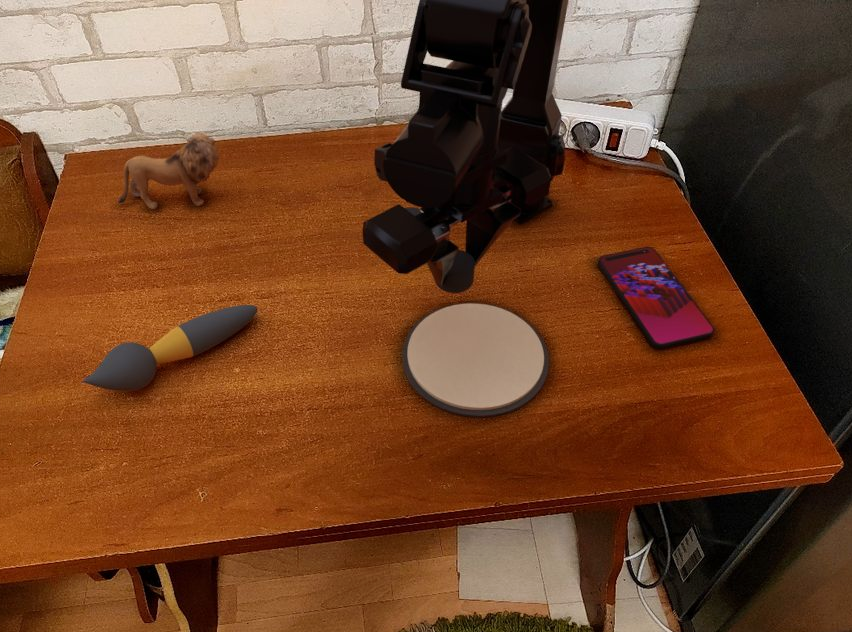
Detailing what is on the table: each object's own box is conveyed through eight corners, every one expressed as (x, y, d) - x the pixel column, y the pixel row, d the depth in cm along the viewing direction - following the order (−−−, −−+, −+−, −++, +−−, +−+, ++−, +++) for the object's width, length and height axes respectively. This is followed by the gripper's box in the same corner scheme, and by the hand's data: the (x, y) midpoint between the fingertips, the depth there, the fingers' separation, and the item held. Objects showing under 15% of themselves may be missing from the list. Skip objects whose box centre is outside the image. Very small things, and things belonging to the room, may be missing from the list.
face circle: (478, 285, 82) (479, 279, 82) (579, 365, 74) (581, 359, 73) (372, 349, 76) (372, 344, 75) (470, 444, 68) (471, 439, 67)
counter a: (455, 261, 72) (456, 243, 71) (481, 281, 70) (483, 264, 68) (426, 277, 71) (427, 260, 69) (452, 299, 69) (453, 281, 67)
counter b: (412, 217, 91) (412, 202, 89) (431, 232, 89) (432, 217, 87) (388, 230, 89) (387, 215, 87) (407, 245, 87) (407, 231, 85)
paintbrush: (240, 298, 81) (232, 267, 77) (265, 320, 79) (258, 290, 75) (86, 392, 73) (68, 362, 69) (109, 420, 70) (91, 391, 66)
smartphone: (655, 346, 74) (595, 256, 84) (653, 352, 75) (593, 261, 84) (719, 332, 76) (652, 244, 85) (716, 337, 76) (650, 250, 86)
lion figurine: (227, 180, 96) (213, 122, 90) (229, 203, 93) (214, 145, 86) (119, 195, 95) (97, 137, 88) (118, 219, 91) (94, 161, 84)
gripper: (480, 67, 66) (469, 199, 78) (319, 136, 58) (335, 271, 70) (567, 115, 60) (541, 250, 72) (401, 198, 53) (403, 333, 64)
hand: (455, 273), depth 70 cm, fingers closed on counter a, 4 cm apart
